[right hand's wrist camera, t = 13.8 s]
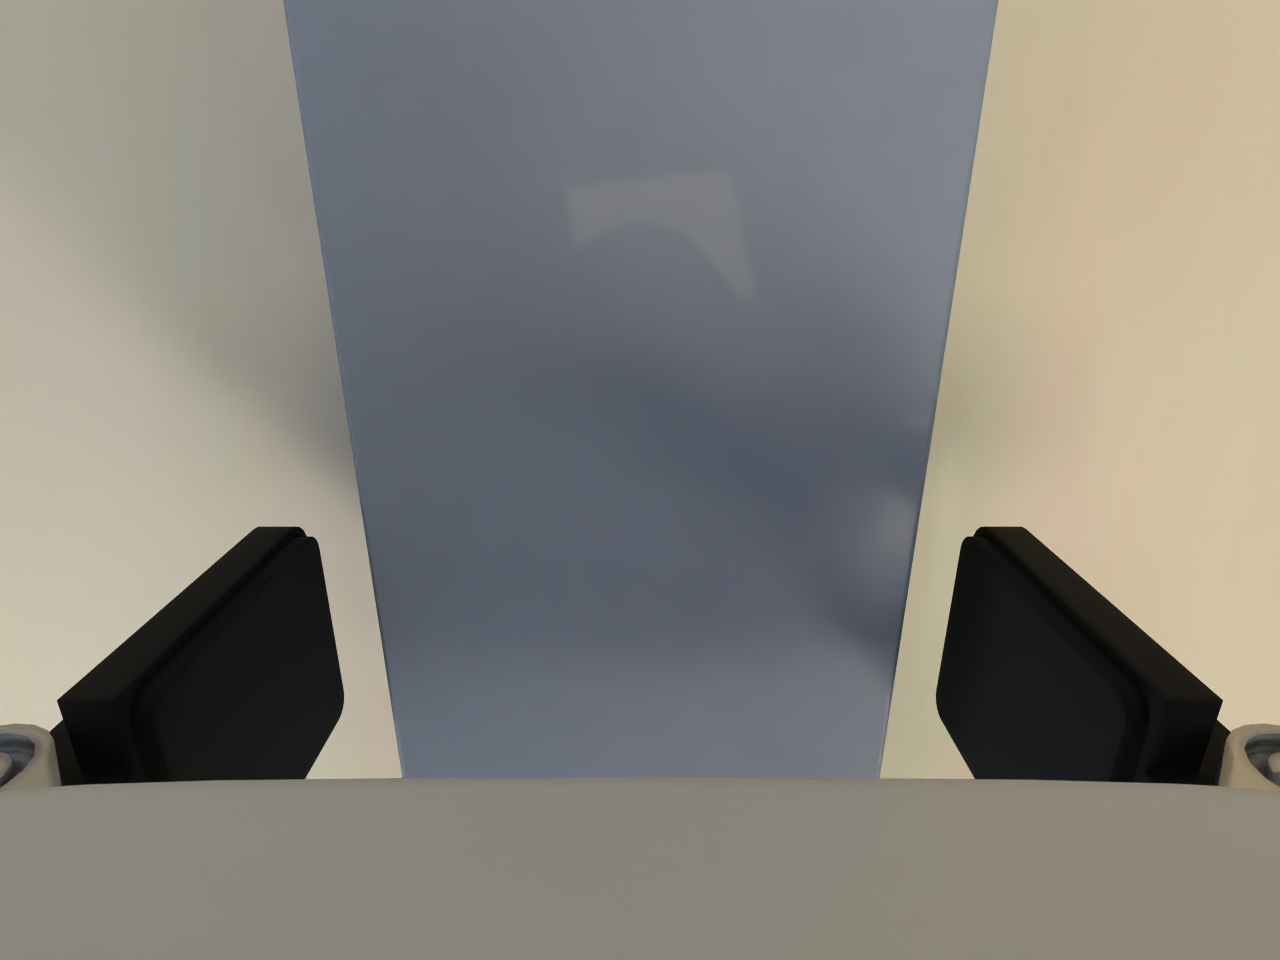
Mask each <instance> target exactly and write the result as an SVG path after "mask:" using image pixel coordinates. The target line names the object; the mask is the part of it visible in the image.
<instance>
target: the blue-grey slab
mask: <svg viewBox="0 0 1280 960" xmlns="http://www.w3.org/2000/svg"><path fill="white" fill-rule="evenodd" d="M283 1H284V8H285V14H286V21H287V27H288V34H289V41H290V47H291V54H292V60H293V67H294V73H295V80H296V86H297V93H298V99H299V106H300V112H301V119H302V125H303V132H304V138H305V145H306V151H307V158H308V164H309V171H310V177H311V184H312V190H313V197H314V203H315V210H316V216H317V223H318V229H319V236H320V242H321V249H322V255H323V262H324V268H325V275H326V282H327V288H328V295H329V301H330V308H331V314H332V321H333V327H334V334H335V340H336V347H337V353H338V360H339V366H340V373H341V379H342V386H343V392H344V399H345V405H346V412H347V418H348V425H349V431H350V438H351V444H352V451H353V457H354V464H355V470H356V477H357V483H358V490H359V496H360V503H361V509H362V516H363V523H364V529H365V536H366V542H367V549H368V555H369V562H370V568H371V575H372V581H373V588H374V594H375V601H376V607H377V614H378V620H379V627H380V633H381V640H382V646H383V653H384V659H385V666H386V672H387V679H388V685H389V692H390V698H391V705H392V711H393V718H394V724H395V731H396V737H397V744H398V751H399V757H400V764H401V770H402V777H403V778H476V777H771V778H879V777H880V770H881V764H882V757H883V750H884V744H885V737H886V731H887V724H888V718H889V711H890V705H891V698H892V692H893V685H894V678H895V672H896V665H897V659H898V652H899V646H900V639H901V633H902V626H903V620H904V613H905V606H906V600H907V593H908V587H909V580H910V574H911V567H912V561H913V554H914V548H915V541H916V535H917V528H918V521H919V515H920V508H921V502H922V495H923V489H924V482H925V476H926V469H927V463H928V456H929V449H930V443H931V436H932V430H933V423H934V417H935V410H936V404H937V397H938V391H939V384H940V377H941V371H942V364H943V358H944V351H945V345H946V338H947V332H948V325H949V319H950V312H951V306H952V299H953V292H954V286H955V279H956V273H957V266H958V260H959V253H960V247H961V240H962V234H963V227H964V220H965V214H966V207H967V201H968V194H969V188H970V181H971V175H972V168H973V162H974V155H975V148H976V142H977V135H978V129H979V122H980V116H981V109H982V103H983V96H984V90H985V83H986V77H987V70H988V63H989V57H990V50H991V44H992V37H993V31H994V24H995V18H996V11H997V5H998V0H283Z"/></svg>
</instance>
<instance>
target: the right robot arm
mask: <svg viewBox="0 0 1280 960" xmlns="http://www.w3.org/2000/svg"><path fill="white" fill-rule="evenodd" d="M57 702H58V705H59V708H60V711H61V714H62V717H63V720H62V721H61V722H60V723H59V724H58V725H57V726H56V727H54V728H53V729H52V730H51V731H50V732H49V731H48V730H46V729H43V728H41V727H38V726H36V725H27V724H9V725H2V726H0V960H1280V726H1278V725H1271V724H1253V725H1244V726H1242V727H1239V728H1237V729H1234V730H1232V731H1231V732H1230V731H1229V730H1228V729H1227V728H1226V727H1224V726H1223V725H1222V724H1221V723H1220V722H1219V721H1218V720H1217V717H1218V714H1219V711H1220V708H1221V705H1222V702H1223V700H1222V699H1221V698H1220V697H1218V696H1217V695H1216V694H1215V693H1214V692H1213V691H1212V690H1210V689H1209V688H1208V687H1207V686H1206V685H1205V684H1204V683H1202V682H1201V681H1200V680H1199V679H1198V678H1197V677H1195V676H1194V675H1193V674H1192V673H1191V672H1190V671H1189V670H1187V669H1186V668H1185V667H1184V666H1183V665H1182V664H1181V663H1179V662H1178V661H1177V660H1176V659H1175V658H1174V657H1172V656H1171V655H1170V654H1169V653H1168V652H1167V651H1166V650H1164V649H1163V648H1162V647H1161V646H1160V645H1159V644H1158V643H1156V642H1155V641H1154V640H1153V639H1152V638H1151V637H1149V636H1148V635H1147V634H1146V633H1145V632H1144V631H1143V630H1141V629H1140V628H1139V627H1138V626H1137V625H1136V624H1135V623H1133V622H1132V621H1131V620H1130V619H1129V618H1128V617H1126V616H1125V615H1124V614H1123V613H1122V612H1121V611H1120V610H1118V609H1117V608H1116V607H1115V606H1114V605H1113V604H1112V603H1110V602H1109V601H1108V600H1107V599H1106V598H1105V597H1104V596H1102V595H1101V594H1100V593H1099V592H1098V591H1097V590H1095V589H1094V588H1093V587H1092V586H1091V585H1090V584H1089V583H1087V582H1086V581H1085V580H1084V579H1083V578H1082V577H1081V576H1079V575H1078V574H1077V573H1076V572H1075V571H1074V570H1072V569H1071V568H1070V567H1069V566H1068V565H1067V564H1066V563H1064V562H1063V561H1062V560H1061V559H1060V558H1059V557H1058V556H1056V555H1055V554H1054V553H1053V552H1052V551H1051V550H1049V549H1048V548H1047V547H1046V546H1045V545H1044V544H1043V543H1041V542H1040V541H1039V540H1038V539H1037V538H1036V537H1035V536H1033V535H1032V534H1031V533H1030V532H1029V531H1028V530H1026V529H1025V528H1023V527H980V528H979V529H978V530H976V532H975V534H974V536H973V537H966V538H965V539H964V540H963V542H962V545H961V549H960V555H959V561H958V567H957V573H956V579H955V584H954V590H953V596H952V602H951V608H950V614H949V620H948V626H947V631H946V637H945V643H944V649H943V655H942V661H941V667H940V672H939V678H938V684H937V690H936V704H937V710H938V713H939V716H940V718H941V720H942V722H943V724H944V725H945V727H946V729H947V731H948V732H949V734H950V736H951V738H952V739H953V741H954V743H955V745H956V746H957V748H958V750H959V752H960V753H961V755H962V757H963V759H964V760H965V762H966V764H967V766H968V767H969V769H970V771H971V773H972V774H973V776H974V778H975V779H884V778H771V777H476V778H387V779H305V778H306V776H307V774H308V773H309V771H310V769H311V767H312V766H313V764H314V762H315V760H316V759H317V757H318V755H319V753H320V752H321V750H322V748H323V746H324V745H325V743H326V741H327V739H328V738H329V736H330V734H331V732H332V731H333V729H334V727H335V725H336V724H337V722H338V720H339V718H340V716H341V713H342V710H343V704H344V690H343V684H342V678H341V672H340V667H339V661H338V655H337V649H336V643H335V637H334V631H333V626H332V620H331V614H330V608H329V602H328V596H327V590H326V584H325V579H324V573H323V567H322V561H321V555H320V549H319V545H318V542H317V540H316V539H315V538H314V537H307V536H306V534H305V532H304V530H302V529H301V528H300V527H257V528H255V529H254V530H252V531H251V532H250V533H249V534H248V535H247V536H245V537H244V538H243V539H242V540H241V541H240V542H239V543H237V544H236V545H235V546H234V547H233V548H232V549H231V550H229V551H228V552H227V553H226V554H225V555H224V556H222V557H221V558H220V559H219V560H218V561H217V562H216V563H214V564H213V565H212V566H211V567H210V568H209V569H208V570H206V571H205V572H204V573H203V574H202V575H201V576H199V577H198V578H197V579H196V580H195V581H194V582H193V583H191V584H190V585H189V586H188V587H187V588H186V589H185V590H183V591H182V592H181V593H180V594H179V595H178V596H176V597H175V598H174V599H173V600H172V601H171V602H170V603H168V604H167V605H166V606H165V607H164V608H163V609H162V610H160V611H159V612H158V613H157V614H156V615H155V616H154V617H152V618H151V619H150V620H149V621H148V622H147V623H145V624H144V625H143V626H142V627H141V628H140V629H139V630H137V631H136V632H135V633H134V634H133V635H132V636H131V637H129V638H128V639H127V640H126V641H125V642H124V643H122V644H121V645H120V646H119V647H118V648H117V649H116V650H114V651H113V652H112V653H111V654H110V655H109V656H108V657H106V658H105V659H104V660H103V661H102V662H101V663H99V664H98V665H97V666H96V667H95V668H94V669H93V670H91V671H90V672H89V673H88V674H87V675H86V676H85V677H83V678H82V679H81V680H80V681H79V682H78V683H76V684H75V685H74V686H73V687H72V688H71V689H70V690H68V691H67V692H66V693H65V694H64V695H63V696H62V697H60V698H59V699H58V700H57Z"/></svg>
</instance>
